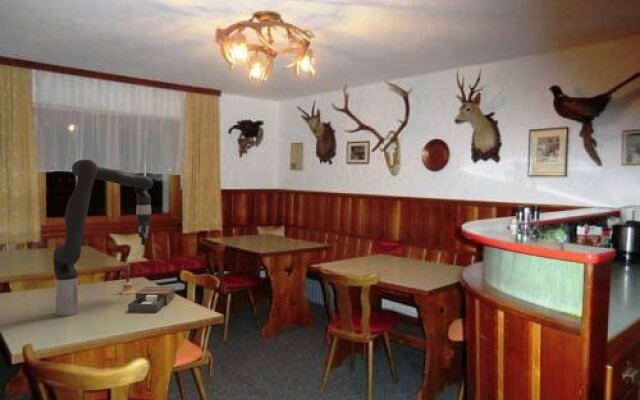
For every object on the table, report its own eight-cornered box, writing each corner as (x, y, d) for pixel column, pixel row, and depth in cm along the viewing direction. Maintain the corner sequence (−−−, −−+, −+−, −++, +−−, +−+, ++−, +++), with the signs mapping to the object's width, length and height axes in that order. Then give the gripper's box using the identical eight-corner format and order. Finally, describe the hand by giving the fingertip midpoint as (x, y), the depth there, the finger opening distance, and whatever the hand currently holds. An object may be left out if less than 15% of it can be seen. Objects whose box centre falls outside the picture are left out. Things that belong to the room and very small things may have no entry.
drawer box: (166, 305, 237) (166, 293, 237) (135, 304, 237) (135, 293, 236) (174, 297, 251) (174, 287, 251) (145, 297, 251) (145, 286, 250)
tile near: (153, 301, 233) (153, 306, 233) (143, 301, 233) (143, 306, 233) (150, 304, 228) (150, 309, 228) (140, 304, 228) (140, 309, 228)
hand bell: (132, 295, 255) (131, 266, 254) (117, 294, 255) (117, 266, 254) (138, 291, 264) (138, 263, 263) (123, 290, 264) (123, 263, 263)
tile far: (157, 304, 236) (155, 306, 233) (147, 304, 236) (145, 306, 233) (157, 295, 236) (155, 296, 233) (147, 295, 235) (145, 296, 233)
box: (156, 312, 225) (156, 304, 225) (128, 312, 225) (128, 304, 224) (164, 305, 237) (164, 297, 237) (137, 305, 237) (137, 297, 236)
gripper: (141, 212, 256) (141, 242, 257) (132, 214, 242) (132, 246, 243) (154, 212, 256) (154, 243, 257) (146, 214, 242) (146, 246, 244)
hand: (143, 244), depth 250 cm, fingers closed
